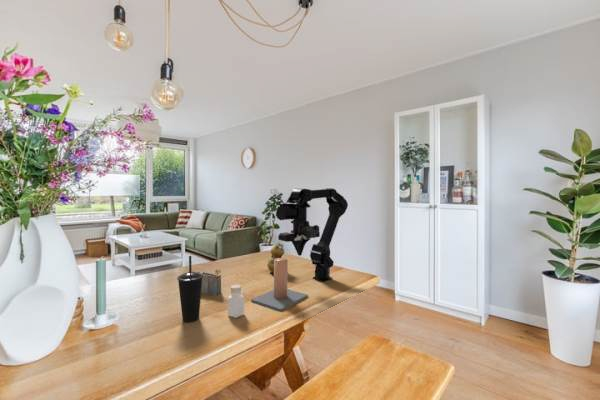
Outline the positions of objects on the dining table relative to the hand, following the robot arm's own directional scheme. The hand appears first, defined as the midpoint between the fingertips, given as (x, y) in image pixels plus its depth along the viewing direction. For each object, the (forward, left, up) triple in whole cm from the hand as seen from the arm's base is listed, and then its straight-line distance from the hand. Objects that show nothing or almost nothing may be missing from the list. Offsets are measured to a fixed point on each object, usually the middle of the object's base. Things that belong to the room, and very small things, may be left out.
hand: (299, 255), depth 120 cm
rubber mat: (+15, +6, -13) cm, 21 cm away
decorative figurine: (-4, -22, -13) cm, 26 cm away
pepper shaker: (+34, +7, -13) cm, 37 cm away
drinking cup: (+46, 0, -13) cm, 48 cm away
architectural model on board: (+32, -19, -14) cm, 40 cm away
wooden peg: (+15, +6, -12) cm, 20 cm away
